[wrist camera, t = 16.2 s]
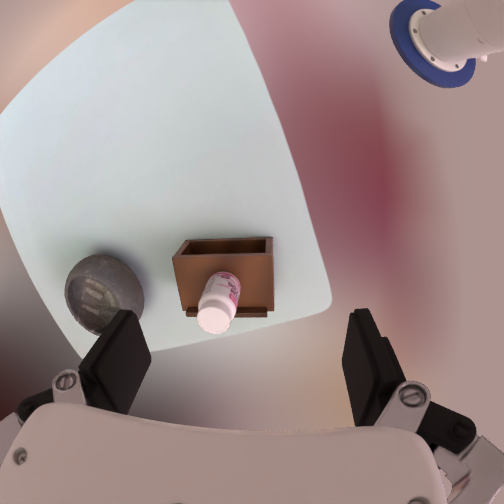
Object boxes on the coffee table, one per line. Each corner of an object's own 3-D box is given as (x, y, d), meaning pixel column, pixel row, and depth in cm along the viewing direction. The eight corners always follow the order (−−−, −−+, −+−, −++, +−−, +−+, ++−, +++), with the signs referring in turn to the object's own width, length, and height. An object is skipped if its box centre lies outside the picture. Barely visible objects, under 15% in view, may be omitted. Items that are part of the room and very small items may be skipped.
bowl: (144, 323, 53) (125, 356, 44) (84, 291, 51) (59, 318, 42) (163, 265, 47) (140, 296, 38) (94, 231, 46) (62, 253, 37)
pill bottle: (247, 283, 40) (241, 320, 32) (228, 305, 41) (219, 342, 34) (219, 264, 39) (207, 297, 31) (201, 287, 40) (186, 322, 33)
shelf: (272, 236, 44) (272, 260, 36) (274, 287, 48) (274, 317, 40) (185, 240, 45) (168, 262, 37) (193, 288, 49) (180, 316, 41)
